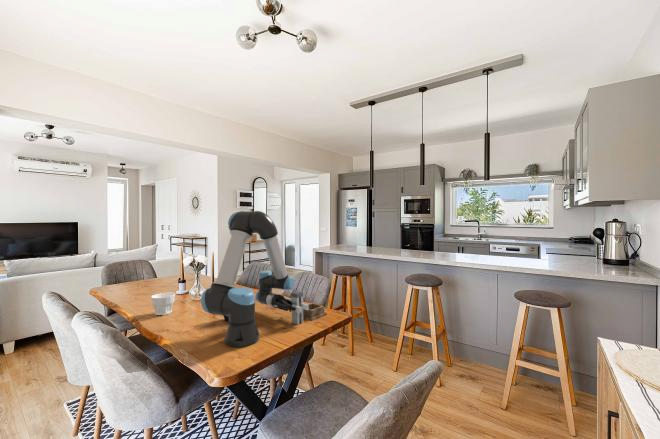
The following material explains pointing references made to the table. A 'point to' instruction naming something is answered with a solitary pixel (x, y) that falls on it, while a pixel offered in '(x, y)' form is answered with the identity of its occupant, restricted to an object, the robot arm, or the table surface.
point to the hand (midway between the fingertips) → (304, 308)
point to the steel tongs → (297, 301)
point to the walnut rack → (314, 311)
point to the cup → (163, 303)
